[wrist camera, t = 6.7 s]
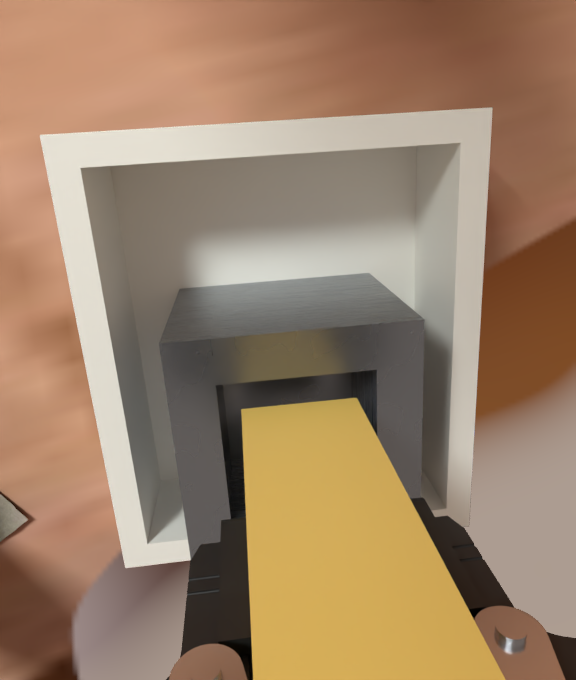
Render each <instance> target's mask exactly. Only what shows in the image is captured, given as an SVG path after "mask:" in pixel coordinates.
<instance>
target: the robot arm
mask: <svg viewBox="0 0 576 680" xmlns="http://www.w3.org/2000/svg"><path fill="white" fill-rule="evenodd" d="M410 500H411V501H412V503H413V505H414V507H415V509H416V511H417V513H418V515H419V517H420V518H421V520H422V522H423V524H424V526H425V528H426V530H427V532H428V534H429V536H430V537H431V539H432V541H433V543H434V545H435V547H436V549H437V551H438V553H439V554H440V556H441V558H442V560H443V562H444V564H445V566H446V568H447V570H448V572H449V573H450V575H451V577H452V579H453V581H454V583H455V585H456V587H457V589H458V590H459V592H460V594H461V596H462V598H463V600H464V602H465V604H466V606H467V607H468V609H469V611H470V613H471V615H472V617H473V619H474V621H475V623H476V625H477V626H478V628H479V630H480V632H481V634H482V636H483V638H484V640H485V642H486V643H487V645H488V647H489V649H490V651H491V653H492V655H493V657H494V659H495V661H496V662H497V664H498V666H499V668H500V670H501V672H502V674H503V676H504V678H505V679H506V680H576V638H570V637H563V636H558V635H554V634H551V633H548V632H546V630H545V629H544V628H543V626H542V625H541V624H540V623H539V622H538V621H537V620H536V619H535V618H533V617H532V616H531V615H529V614H527V613H525V612H523V611H521V610H519V609H516V608H514V606H513V605H512V603H511V602H510V600H509V598H508V597H507V595H506V594H505V592H504V590H503V589H502V587H501V586H500V584H499V582H498V581H497V579H496V578H495V576H494V575H493V573H492V572H491V570H490V568H489V567H488V565H487V564H486V562H485V560H483V559H482V556H481V554H480V553H479V551H478V549H477V548H476V547H475V546H474V543H473V541H472V540H471V538H470V537H469V535H468V533H467V532H466V530H465V529H464V528H463V527H462V526H461V525H459V524H458V523H457V522H455V521H454V520H453V519H451V518H450V517H449V516H440V517H435V516H434V515H433V513H432V511H431V509H430V508H429V506H428V504H427V502H426V501H425V499H424V498H423V497H420V498H411V499H410ZM166 680H253V665H252V642H251V619H250V596H249V573H248V551H247V528H246V517H244V518H235V519H226V520H221V535H220V542H217V543H209V544H201V545H200V546H199V548H198V549H197V551H196V553H195V554H194V556H193V557H192V559H191V561H190V570H189V582H188V591H187V601H186V611H185V621H184V631H183V642H182V651H181V656H180V659H179V660H178V661H177V662H176V664H175V665H174V667H173V669H172V671H171V674H170V676H169V677H168V678H167V679H166Z"/></svg>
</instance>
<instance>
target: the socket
mask: <svg viewBox="0 0 576 680" xmlns="http://www.w3.org/2000/svg"><path fill="white" fill-rule="evenodd" d="M424 323H425V319H423V318H422V317H421V316H420V315H419V314H418V313H416V312H415V311H414V310H413V309H412V308H410V307H409V306H408V305H407V304H406V303H404V302H403V301H402V300H401V299H400V298H398V297H397V296H396V295H395V294H394V293H392V292H391V291H390V290H389V289H388V288H386V287H385V286H384V285H383V284H382V283H380V282H379V281H378V280H377V279H376V278H375V277H373V276H372V275H371V274H370V273H362V274H350V275H338V276H326V277H314V278H302V279H290V280H278V281H266V282H254V283H242V284H230V285H218V286H206V287H194V288H182V289H179V292H178V294H177V297H176V300H175V302H174V305H173V307H172V310H171V313H170V315H169V318H168V321H167V323H166V326H165V329H164V331H163V334H162V337H161V339H160V342H159V348H160V355H161V362H162V368H163V375H164V382H165V389H166V395H167V402H168V409H169V416H170V422H171V429H172V436H173V443H174V449H175V456H176V463H177V470H178V476H179V483H180V490H181V497H182V503H183V510H184V517H185V524H186V530H187V537H188V544H189V550H190V557H191V559H192V557H193V556H194V554H195V553H196V551H197V549H198V548H199V546H200V545H201V544H209V543H217V542H220V535H221V520H226V519H235V518H244V517H246V505H245V482H244V459H243V437H242V414H241V409H247V408H257V407H267V406H277V405H287V404H297V403H307V402H317V401H327V400H337V399H347V398H357V399H358V401H359V403H360V405H361V407H362V409H363V411H364V412H365V414H366V416H367V418H368V420H369V422H370V424H371V426H372V428H373V429H374V431H375V433H376V435H377V437H378V439H379V441H380V443H381V445H382V447H383V448H384V450H385V452H386V454H387V456H388V458H389V460H390V462H391V464H392V465H393V467H394V469H395V471H396V473H397V475H398V477H399V479H400V481H401V482H402V484H403V486H404V488H405V490H406V492H407V494H408V496H409V498H410V499H411V498H420V497H421V468H422V420H423V371H424Z"/></svg>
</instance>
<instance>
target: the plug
mask: <svg viewBox="0 0 576 680" xmlns="http://www.w3.org/2000/svg"><path fill="white" fill-rule="evenodd" d="M241 414H242V437H243V459H244V482H245V505H246V528H247V551H248V573H249V596H250V619H251V642H252V665H253V680H506V679H505V678H504V676H503V674H502V672H501V670H500V668H499V666H498V664H497V662H496V661H495V659H494V657H493V655H492V653H491V651H490V649H489V647H488V645H487V643H486V642H485V640H484V638H483V636H482V634H481V632H480V630H479V628H478V626H477V625H476V623H475V621H474V619H473V617H472V615H471V613H470V611H469V609H468V607H467V606H466V604H465V602H464V600H463V598H462V596H461V594H460V592H459V590H458V589H457V587H456V585H455V583H454V581H453V579H452V577H451V575H450V573H449V572H448V570H447V568H446V566H445V564H444V562H443V560H442V558H441V556H440V554H439V553H438V551H437V549H436V547H435V545H434V543H433V541H432V539H431V537H430V536H429V534H428V532H427V530H426V528H425V526H424V524H423V522H422V520H421V518H420V517H419V515H418V513H417V511H416V509H415V507H414V505H413V503H412V501H411V500H410V498H409V496H408V494H407V492H406V490H405V488H404V486H403V484H402V482H401V481H400V479H399V477H398V475H397V473H396V471H395V469H394V467H393V465H392V464H391V462H390V460H389V458H388V456H387V454H386V452H385V450H384V448H383V447H382V445H381V443H380V441H379V439H378V437H377V435H376V433H375V431H374V429H373V428H372V426H371V424H370V422H369V420H368V418H367V416H366V414H365V412H364V411H363V409H362V407H361V405H360V403H359V401H358V399H357V398H347V399H337V400H327V401H317V402H307V403H297V404H287V405H277V406H267V407H257V408H247V409H241Z"/></svg>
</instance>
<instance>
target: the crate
mask: <svg viewBox="0 0 576 680" xmlns="http://www.w3.org/2000/svg"><path fill="white" fill-rule="evenodd" d="M492 109H493V107H490V108H474V109H457V110H441V111H425V112H408V113H392V114H376V115H359V116H343V117H327V118H310V119H294V120H278V121H261V122H245V123H229V124H213V125H196V126H180V127H164V128H147V129H131V130H115V131H98V132H82V133H66V134H49V135H40V139H41V144H42V149H43V154H44V159H45V164H46V169H47V174H48V179H49V184H50V190H51V195H52V200H53V205H54V210H55V215H56V220H57V225H58V230H59V235H60V240H61V245H62V250H63V255H64V260H65V265H66V270H67V275H68V280H69V286H70V291H71V296H72V301H73V306H74V311H75V316H76V321H77V326H78V331H79V336H80V341H81V346H82V351H83V356H84V361H85V366H86V371H87V377H88V382H89V387H90V392H91V397H92V402H93V407H94V412H95V417H96V422H97V427H98V432H99V437H100V442H101V447H102V452H103V457H104V462H105V468H106V473H107V478H108V483H109V488H110V493H111V498H112V503H113V508H114V513H115V518H116V523H117V528H118V533H119V538H120V543H121V548H122V553H123V558H124V564H125V568H130V567H137V566H146V565H155V564H163V563H170V562H178V561H187V560H191V557H190V550H189V544H188V537H187V530H186V524H185V517H184V510H183V503H182V497H181V490H180V483H179V476H178V470H177V463H176V456H175V449H174V443H173V436H172V429H171V422H170V416H169V409H168V402H167V395H166V389H165V382H164V375H163V368H162V362H161V355H160V348H159V342H160V339H161V337H162V334H163V331H164V329H165V326H166V323H167V321H168V318H169V315H170V313H171V310H172V307H173V305H174V302H175V300H176V297H177V294H178V292H179V289H182V288H194V287H206V286H218V285H230V284H242V283H254V282H266V281H278V280H290V279H302V278H314V277H326V276H338V275H350V274H362V273H370V274H371V275H372V276H373V277H375V278H376V279H377V280H378V281H379V282H380V283H382V284H383V285H384V286H385V287H386V288H388V289H389V290H390V291H391V292H392V293H394V294H395V295H396V296H397V297H398V298H400V299H401V300H402V301H403V302H404V303H406V304H407V305H408V306H409V307H410V308H412V309H413V310H414V311H415V312H416V313H418V314H419V315H420V316H421V317H422V318H423V319H425V323H424V371H423V420H422V468H421V497H423V498H424V499H425V501H426V502H427V504H428V506H429V508H430V509H431V511H432V513H433V515H434V516H435V517H440V516H449V517H450V518H451V519H453V520H454V521H455V522H457V523H458V524H459V525H461V526H462V527H468V526H469V520H470V503H471V485H472V467H473V449H474V431H475V414H476V395H477V378H478V360H479V342H480V341H479V340H480V324H481V305H482V288H483V270H484V253H485V235H486V217H487V199H488V181H489V163H490V145H491V127H492Z"/></svg>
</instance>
